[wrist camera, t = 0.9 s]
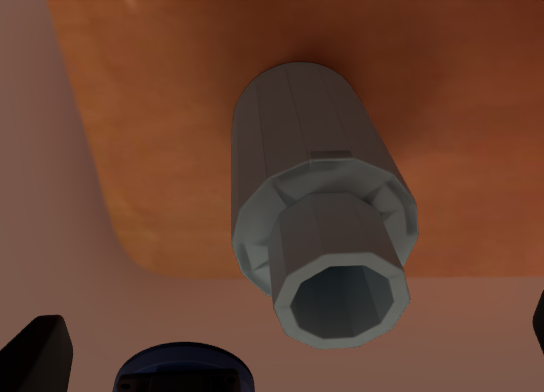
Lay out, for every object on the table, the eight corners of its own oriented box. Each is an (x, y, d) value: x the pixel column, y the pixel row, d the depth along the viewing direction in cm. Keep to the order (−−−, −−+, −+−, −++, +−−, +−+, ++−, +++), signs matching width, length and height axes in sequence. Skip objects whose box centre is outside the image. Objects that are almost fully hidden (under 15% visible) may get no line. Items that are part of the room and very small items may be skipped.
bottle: (355, 177, 22) (431, 368, 14) (233, 181, 22) (235, 379, 13) (369, 60, 19) (474, 212, 11) (228, 62, 19) (226, 221, 11)
